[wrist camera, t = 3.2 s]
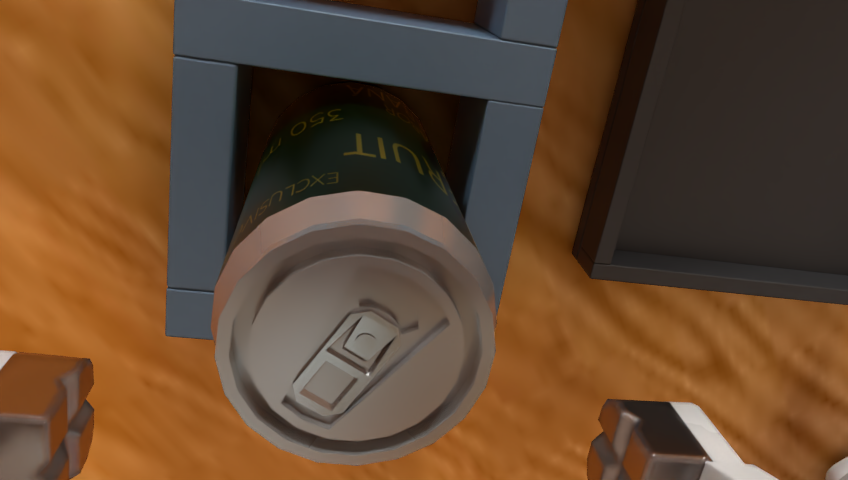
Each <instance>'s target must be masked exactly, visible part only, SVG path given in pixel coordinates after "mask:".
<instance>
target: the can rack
mask: <svg viewBox="0 0 848 480" xmlns="http://www.w3.org/2000/svg"><path fill="white" fill-rule="evenodd" d="M567 3H568V0H478V2H477V8H476V13H475V19H474V23H469V22H462V21H456V20H450V19H444V18H438V17H431V16H425V15H419V14H413V13H407V12H400V11H394V10H388V9H382V8H375V7H369V6H363V5H357V4H351V3H344V2H338V1H332V0H175V2H174V38H173V53H174V55H175V56H174V58H173V86H172V122H171V158H170V194H169V229H168V265H167V285H168V288H167V292H166V328H165V334H166V336H171V337H183V338H196V339H208V340H214V339H213V335H212V331H211V318H212V309H213V299H214V289H215V285H216V282H217V280H218V277H219V274H220V271H221V268H222V266H223V263H224V260H225V257H226V254H227V252H228V249H229V246H230V243H231V240H232V238H233V235H234V232H235V229H236V227H237V224H238V221H239V218H240V215H241V213H242V210H243V202H244V188H245V174H246V160H247V145H248V131H249V117H250V102H251V88H252V74H253V66H256V67H263V68H270V69H277V70H284V71H291V72H298V73H305V74H312V75H319V76H326V77H333V78H340V79H346V80H353V81H360V82H367V83H374V84H381V85H388V86H395V87H402V88H409V89H416V90H423V91H430V92H437V93H444V94H451V95H458V96H460V101H459V106H458V112H457V117H456V123H455V128H454V134H453V139H452V145H451V150H450V156H449V161H448V167H447V172H446V180H447V182H448V184H449V186H450V189H451V191H452V193H453V195H454V197H455V200H456V202H457V204H458V206H459V209H460V211H461V213H462V215H463V218H464V220H465V222H466V224H467V226H468V229H469V231H470V233H471V235H472V238H473V240H474V242H475V244H476V246H477V249H478V251H479V253H480V255H481V258H482V260H483V262H484V264H485V267H486V269H487V271H488V273H489V275H490V278H491V280H492V282H493V284H494V295H495V307H496V316H497V312H498V308H499V303H500V299H501V294H502V290H503V286H504V281H505V277H506V272H507V268H508V264H509V259H510V255H511V250H512V246H513V242H514V237H515V233H516V228H517V224H518V220H519V215H520V211H521V207H522V202H523V198H524V193H525V189H526V185H527V180H528V176H529V171H530V167H531V163H532V158H533V154H534V149H535V145H536V141H537V136H538V132H539V127H540V123H541V119H542V114H543V110H544V109H543V108H542V107H544V105H545V101H546V96H547V92H548V88H549V83H550V79H551V74H552V70H553V66H554V61H555V57H556V52H557V49H556V48H557V46H558V42H559V38H560V34H561V29H562V25H563V20H564V16H565V12H566V7H567ZM475 23H476V24H475Z"/></svg>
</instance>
